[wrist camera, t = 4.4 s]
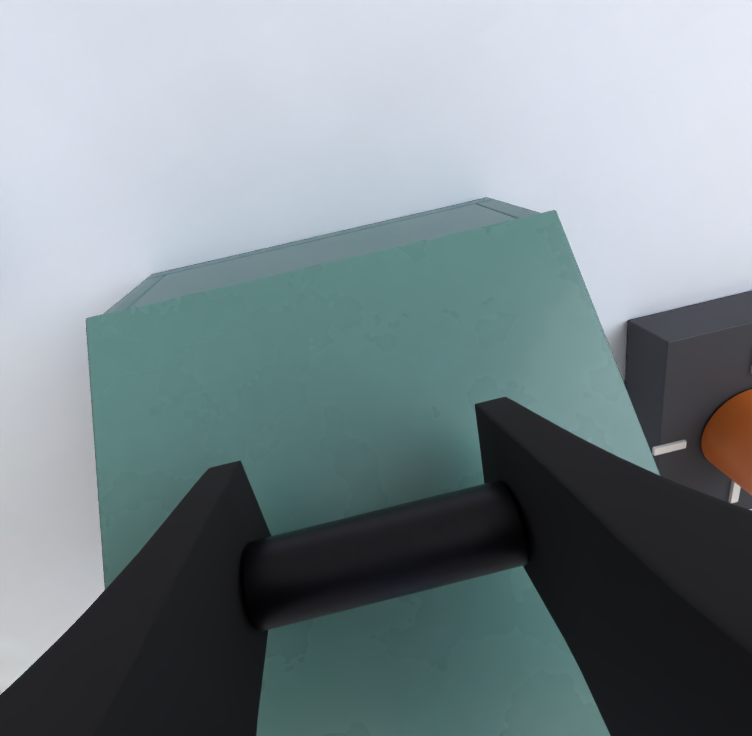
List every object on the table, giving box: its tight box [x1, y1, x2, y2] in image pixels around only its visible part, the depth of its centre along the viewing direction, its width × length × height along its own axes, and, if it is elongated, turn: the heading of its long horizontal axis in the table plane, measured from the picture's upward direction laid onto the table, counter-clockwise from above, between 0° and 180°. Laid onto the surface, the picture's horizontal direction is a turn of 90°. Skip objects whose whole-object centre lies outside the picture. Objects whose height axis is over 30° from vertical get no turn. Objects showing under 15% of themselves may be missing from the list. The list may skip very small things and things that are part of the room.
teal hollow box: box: [104, 198, 540, 314], centre depth 17 cm, size 11×12×5 cm
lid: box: [86, 210, 660, 736], centre depth 9 cm, size 12×12×4 cm
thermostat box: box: [625, 291, 752, 509], centre depth 21 cm, size 10×8×3 cm
